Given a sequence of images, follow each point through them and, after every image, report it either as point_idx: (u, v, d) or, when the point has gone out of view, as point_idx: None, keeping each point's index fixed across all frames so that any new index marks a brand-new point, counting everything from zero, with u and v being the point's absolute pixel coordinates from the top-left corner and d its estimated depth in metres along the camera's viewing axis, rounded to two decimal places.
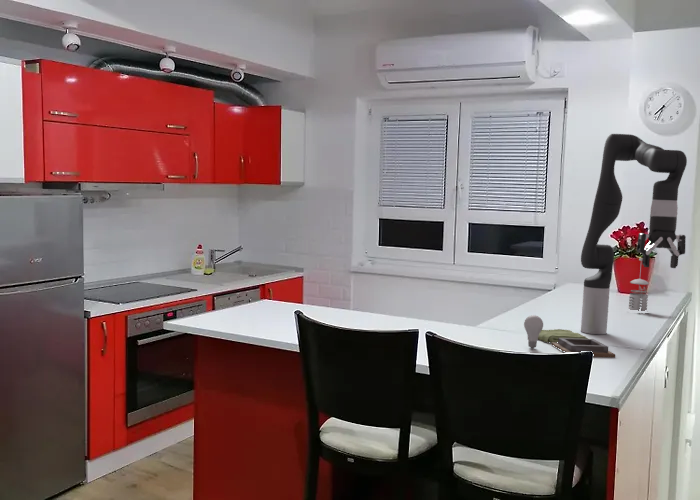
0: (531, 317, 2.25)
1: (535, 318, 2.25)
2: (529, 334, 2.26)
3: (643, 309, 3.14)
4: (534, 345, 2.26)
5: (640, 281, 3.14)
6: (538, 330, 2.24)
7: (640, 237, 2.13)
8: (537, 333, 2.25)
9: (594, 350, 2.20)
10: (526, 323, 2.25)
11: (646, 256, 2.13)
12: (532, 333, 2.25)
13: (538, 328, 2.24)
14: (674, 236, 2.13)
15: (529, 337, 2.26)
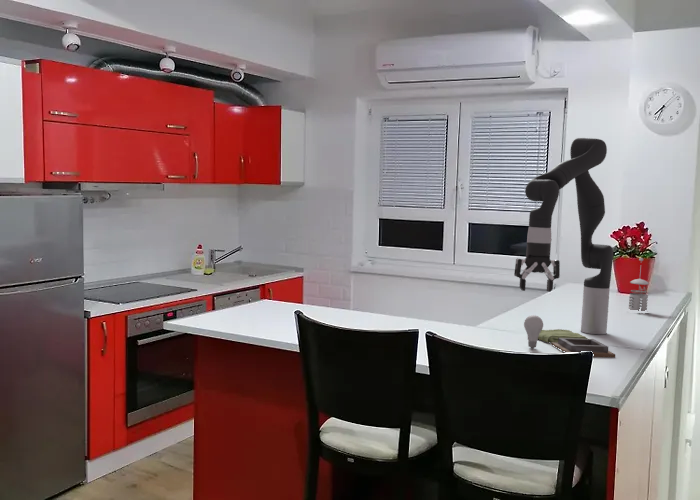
0: (531, 317, 2.25)
1: (535, 318, 2.25)
2: (529, 334, 2.26)
3: (643, 309, 3.14)
4: (534, 345, 2.26)
5: (640, 281, 3.14)
6: (538, 330, 2.24)
7: (517, 262, 2.24)
8: (537, 333, 2.25)
9: (594, 350, 2.20)
10: (526, 323, 2.25)
11: (522, 280, 2.24)
12: (532, 333, 2.25)
13: (538, 328, 2.24)
14: (549, 261, 2.24)
15: (529, 337, 2.26)
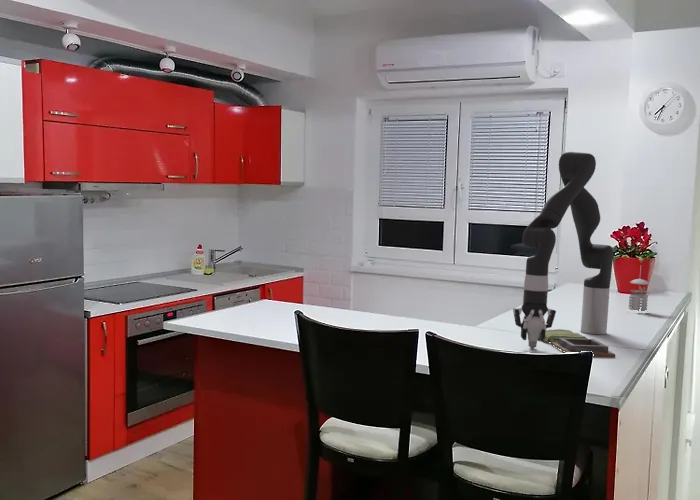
0: None
1: (535, 318, 2.25)
2: (529, 334, 2.26)
3: (643, 309, 3.14)
4: (534, 345, 2.26)
5: (640, 281, 3.14)
6: (538, 330, 2.24)
7: (514, 312, 2.26)
8: (537, 333, 2.25)
9: (594, 350, 2.20)
10: None
11: (523, 330, 2.26)
12: (532, 333, 2.25)
13: (538, 328, 2.24)
14: (546, 309, 2.25)
15: (529, 337, 2.26)
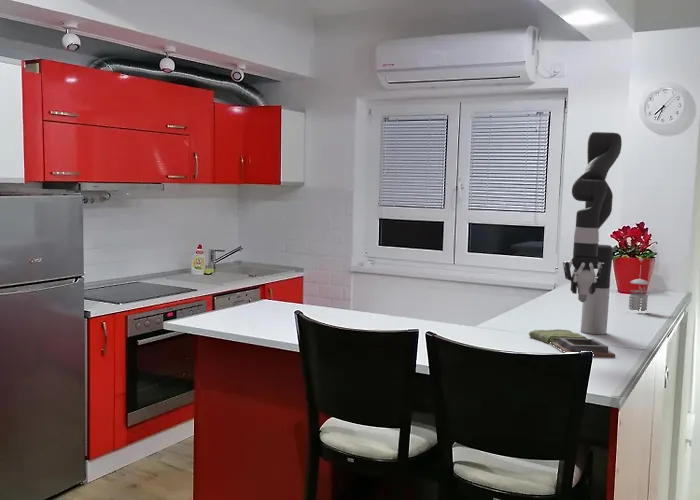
0: (582, 270, 2.23)
1: (586, 271, 2.23)
2: (579, 287, 2.24)
3: (643, 309, 3.14)
4: (584, 298, 2.24)
5: (640, 281, 3.14)
6: (589, 283, 2.22)
7: (564, 266, 2.24)
8: (588, 286, 2.23)
9: (594, 350, 2.20)
10: (577, 276, 2.23)
11: (574, 283, 2.24)
12: (583, 286, 2.23)
13: (589, 281, 2.22)
14: (596, 262, 2.23)
15: (579, 290, 2.24)
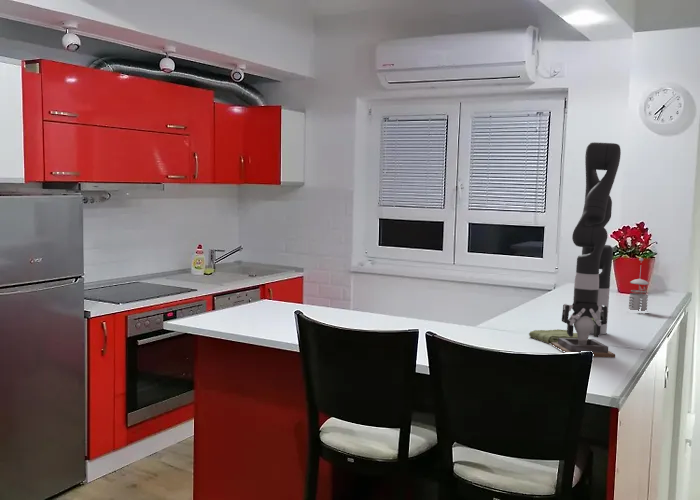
0: (581, 317, 2.24)
1: (586, 317, 2.23)
2: (579, 334, 2.25)
3: (643, 309, 3.14)
4: None
5: (640, 281, 3.14)
6: (589, 330, 2.23)
7: (564, 308, 2.25)
8: (588, 333, 2.24)
9: (594, 350, 2.20)
10: (576, 323, 2.24)
11: (570, 326, 2.25)
12: (583, 333, 2.24)
13: (589, 328, 2.23)
14: (596, 307, 2.24)
15: (579, 337, 2.25)
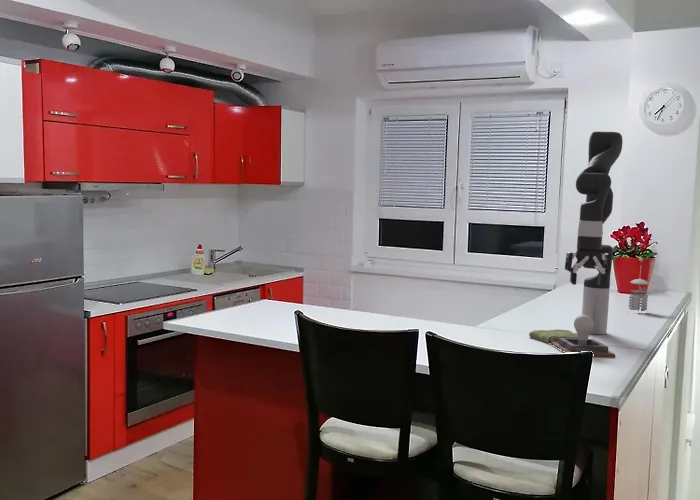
0: (581, 317, 2.24)
1: (586, 317, 2.24)
2: (579, 334, 2.25)
3: (643, 309, 3.14)
4: None
5: (640, 281, 3.14)
6: (589, 330, 2.23)
7: (567, 256, 2.23)
8: (588, 333, 2.24)
9: (594, 350, 2.20)
10: (576, 323, 2.24)
11: (573, 274, 2.23)
12: (583, 333, 2.24)
13: (589, 328, 2.23)
14: (600, 255, 2.23)
15: (579, 337, 2.25)
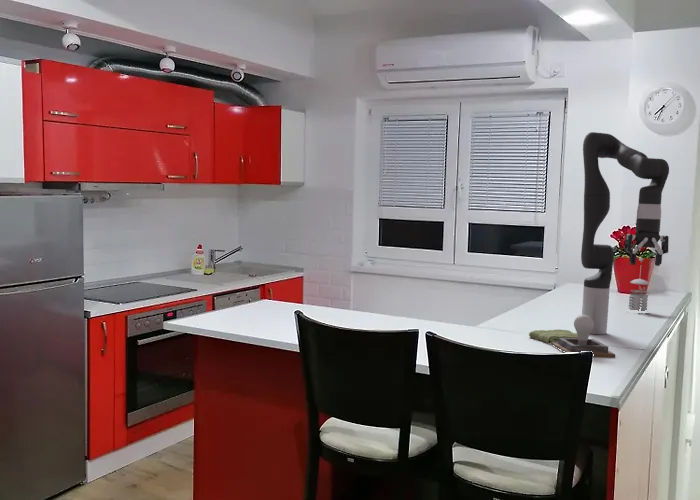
0: (581, 317, 2.24)
1: (586, 317, 2.24)
2: (579, 334, 2.25)
3: (643, 309, 3.14)
4: None
5: (640, 281, 3.14)
6: (589, 330, 2.23)
7: (627, 237, 2.34)
8: (588, 333, 2.24)
9: (594, 350, 2.20)
10: (576, 323, 2.24)
11: (633, 255, 2.34)
12: (583, 333, 2.24)
13: (589, 328, 2.23)
14: (658, 237, 2.34)
15: (579, 337, 2.25)
